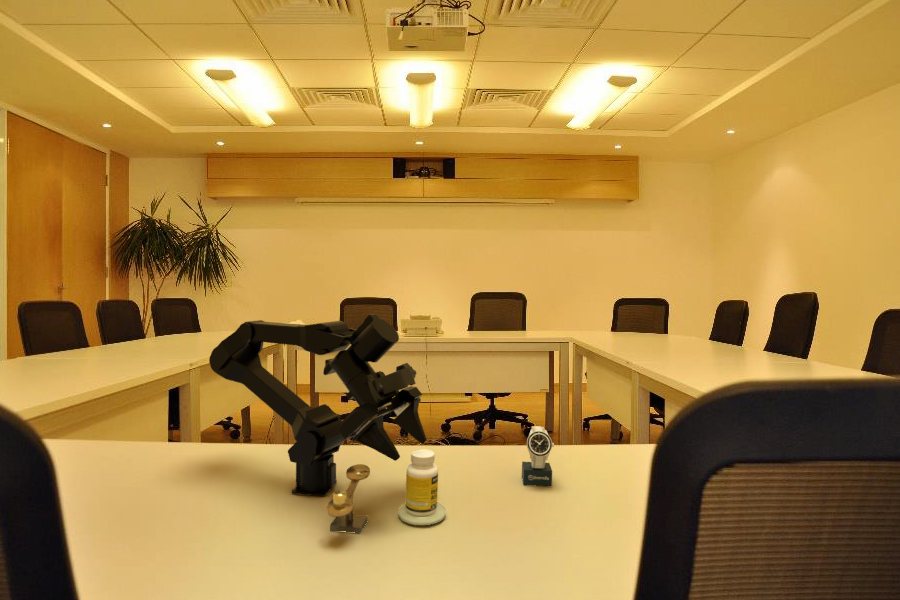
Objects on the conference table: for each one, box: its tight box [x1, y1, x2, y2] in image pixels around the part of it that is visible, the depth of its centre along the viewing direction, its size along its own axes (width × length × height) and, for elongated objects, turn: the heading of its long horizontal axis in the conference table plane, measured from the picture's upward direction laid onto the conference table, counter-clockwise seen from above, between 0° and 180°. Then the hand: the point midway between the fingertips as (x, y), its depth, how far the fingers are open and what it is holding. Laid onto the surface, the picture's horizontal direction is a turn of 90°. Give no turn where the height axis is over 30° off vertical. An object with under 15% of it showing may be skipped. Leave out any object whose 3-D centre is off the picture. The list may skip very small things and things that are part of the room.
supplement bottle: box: [405, 449, 439, 516], centre depth 86 cm, size 5×5×10 cm
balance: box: [326, 463, 371, 534], centre depth 82 cm, size 5×13×8 cm, turn 173°
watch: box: [521, 425, 555, 487], centre depth 101 cm, size 6×8×11 cm
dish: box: [398, 501, 447, 526], centre depth 86 cm, size 8×8×1 cm
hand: (412, 450), depth 86 cm, fingers open, 9 cm apart
